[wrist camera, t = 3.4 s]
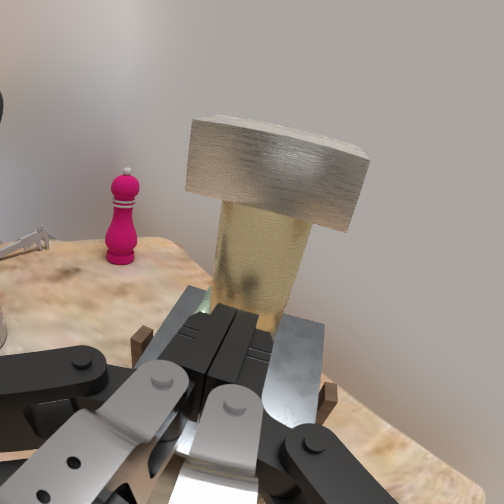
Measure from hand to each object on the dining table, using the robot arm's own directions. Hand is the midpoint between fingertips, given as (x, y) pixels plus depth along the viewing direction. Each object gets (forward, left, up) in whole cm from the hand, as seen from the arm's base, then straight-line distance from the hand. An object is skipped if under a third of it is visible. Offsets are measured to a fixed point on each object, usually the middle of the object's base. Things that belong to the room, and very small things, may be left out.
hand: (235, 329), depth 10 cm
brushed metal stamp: (+9, +4, -13) cm, 17 cm away
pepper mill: (+25, +44, -21) cm, 55 cm away
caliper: (+2, +58, -22) cm, 62 cm away
